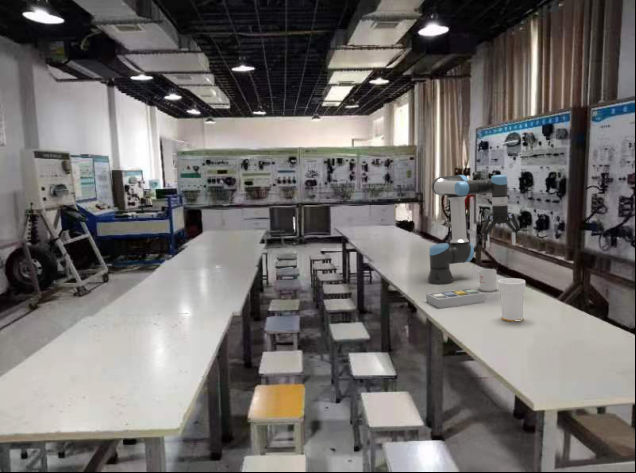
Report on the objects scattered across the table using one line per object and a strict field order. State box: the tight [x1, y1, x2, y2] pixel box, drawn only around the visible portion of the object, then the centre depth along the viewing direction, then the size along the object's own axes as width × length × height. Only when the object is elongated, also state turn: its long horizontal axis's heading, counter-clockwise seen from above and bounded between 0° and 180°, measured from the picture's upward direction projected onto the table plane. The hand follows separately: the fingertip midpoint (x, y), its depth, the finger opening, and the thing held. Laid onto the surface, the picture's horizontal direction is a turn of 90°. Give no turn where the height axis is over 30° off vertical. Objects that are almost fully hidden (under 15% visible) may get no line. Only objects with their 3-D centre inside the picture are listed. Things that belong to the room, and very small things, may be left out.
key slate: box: [443, 292, 455, 297], centre depth 244 cm, size 4×4×2 cm
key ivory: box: [432, 294, 444, 299], centre depth 243 cm, size 4×4×2 cm
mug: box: [476, 268, 498, 293], centre depth 266 cm, size 12×9×11 cm
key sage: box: [464, 288, 477, 294], centre depth 246 cm, size 4×4×2 cm
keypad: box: [425, 287, 485, 309], centre depth 245 cm, size 14×25×5 cm, turn 102°
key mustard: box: [454, 291, 466, 296], centre depth 245 cm, size 4×4×2 cm
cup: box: [497, 277, 526, 322], centre depth 211 cm, size 11×11×17 cm
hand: (500, 245), depth 245 cm, fingers open, 13 cm apart
